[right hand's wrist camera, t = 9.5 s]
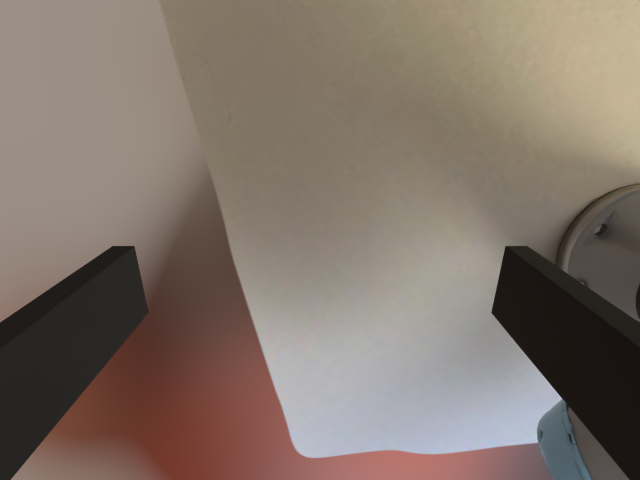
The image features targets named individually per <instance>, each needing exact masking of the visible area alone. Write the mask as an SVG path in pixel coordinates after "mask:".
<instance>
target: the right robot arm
mask: <svg viewBox="0 0 640 480" xmlns="http://www.w3.org/2000/svg"><path fill="white" fill-rule="evenodd" d="M147 314H148V308H147V303H146V299H145V294H144V289H143V285H142V280H141V275H140V270H139V266H138V261H137V256H136V252H135V247H134V246H112V247H111V248H109V249H108V250H106V251H105V252H103V253H102V254H101V255H99V256H98V257H96V258H95V259H93V260H92V261H90V262H89V263H87V264H86V265H84V266H83V267H81V268H80V269H78V270H77V271H76V272H74V273H73V274H71V275H70V276H68V277H67V278H65V279H64V280H62V281H61V282H59V283H58V284H56V285H55V286H53V287H52V288H50V289H49V290H47V291H46V292H45V293H43V294H42V295H40V296H39V297H37V298H36V299H34V300H33V301H31V302H30V303H28V304H27V305H25V306H24V307H23V308H21V309H20V310H18V311H17V312H15V313H14V314H12V315H11V316H9V317H8V318H6V319H5V320H3V321H2V322H0V480H11V479H12V477H13V476H14V475H15V474H16V472H17V471H18V470H19V469H20V468H21V466H22V465H23V464H24V463H25V462H26V460H27V459H28V458H29V457H30V456H31V454H32V453H33V452H34V451H35V450H36V448H37V447H38V446H39V445H40V443H41V442H42V441H43V440H44V439H45V437H46V436H47V435H48V434H49V432H50V431H51V430H52V429H53V428H54V427H55V425H56V424H57V423H58V422H59V420H60V419H61V418H62V417H63V416H64V414H65V413H66V412H67V411H68V410H69V408H70V407H71V406H72V405H73V404H74V402H75V401H76V400H77V399H78V398H79V396H80V395H81V394H82V393H83V391H84V390H85V389H86V388H87V387H88V385H89V384H90V383H91V382H92V381H93V379H94V378H95V377H96V376H97V374H98V373H99V372H100V371H101V370H102V368H103V367H104V366H105V365H106V364H107V362H108V361H109V360H110V359H111V358H112V356H113V355H114V354H115V353H116V352H117V350H118V349H119V348H120V347H121V345H122V344H123V343H124V342H125V341H126V339H127V338H128V337H129V336H130V335H131V333H132V332H133V331H134V330H135V329H136V327H137V326H138V325H139V324H140V323H141V321H142V320H143V319H144V318H145V316H146V315H147ZM492 314H493V315H494V316H495V318H496V319H497V320H498V321H499V323H500V324H501V325H502V326H503V327H504V329H505V330H506V331H507V332H508V333H509V335H510V336H511V337H512V338H513V339H514V341H515V342H516V343H517V344H518V346H519V347H520V348H521V349H522V350H523V352H524V353H525V354H526V355H527V356H528V358H529V359H530V360H531V361H532V362H533V364H534V365H535V366H536V367H537V368H538V370H539V371H540V372H541V373H542V375H543V376H544V377H545V378H546V379H547V381H548V382H549V383H550V384H551V385H552V387H553V388H554V389H555V390H556V391H557V393H558V394H559V395H560V396H561V398H562V400H561V401H560V402H559V403H557V404H556V405H555V406H554V407H553V408H552V409H551V410H549V411H548V412H547V413H546V414H545V415H544V416H543V417H542V418H541V419H540V421H539V424H538V427H537V438H538V442H539V445H540V450H541V453H542V456H543V459H544V461H545V463H546V466H547V468H548V470H549V472H550V474H551V476H552V478H553V480H640V184H637V185H632V186H628V187H624V188H621V189H618V190H616V191H613V192H611V193H609V194H607V195H605V196H604V197H602V198H600V199H599V200H597V201H596V202H594V203H593V204H592V205H590V206H589V207H588V208H587V209H586V210H584V211H583V212H582V213H581V214H580V215H579V216H578V217H577V219H576V220H575V221H574V222H573V223H572V225H571V226H570V228H569V229H568V231H567V233H566V234H565V236H564V238H563V240H562V243H561V246H560V249H559V253H558V259H557V266H556V265H554V264H553V263H551V262H550V261H548V260H547V259H545V258H544V257H542V256H541V255H540V254H538V253H537V252H535V251H534V250H532V249H531V248H529V247H528V246H506V247H505V252H504V256H503V261H502V266H501V270H500V275H499V280H498V285H497V289H496V294H495V299H494V303H493V308H492Z"/></svg>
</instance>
